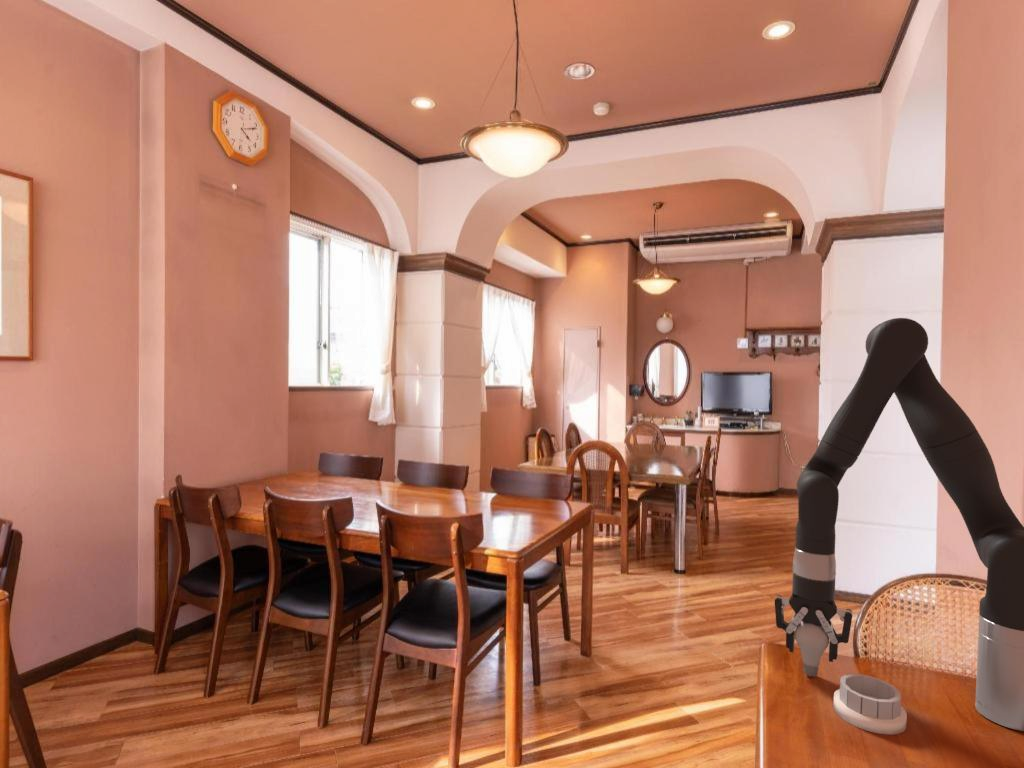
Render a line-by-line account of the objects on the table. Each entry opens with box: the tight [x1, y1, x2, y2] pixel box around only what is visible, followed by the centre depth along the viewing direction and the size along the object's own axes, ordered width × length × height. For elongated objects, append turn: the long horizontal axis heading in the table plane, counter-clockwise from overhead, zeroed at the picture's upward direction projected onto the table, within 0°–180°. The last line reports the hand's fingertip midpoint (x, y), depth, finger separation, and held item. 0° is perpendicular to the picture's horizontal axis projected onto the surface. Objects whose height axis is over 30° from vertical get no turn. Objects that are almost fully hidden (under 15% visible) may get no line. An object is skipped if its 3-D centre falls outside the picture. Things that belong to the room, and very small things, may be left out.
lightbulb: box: [794, 621, 830, 678], centre depth 117 cm, size 6×6×11 cm
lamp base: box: [832, 673, 908, 736], centre depth 104 cm, size 11×11×5 cm
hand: (810, 655), depth 117 cm, fingers open, 6 cm apart
